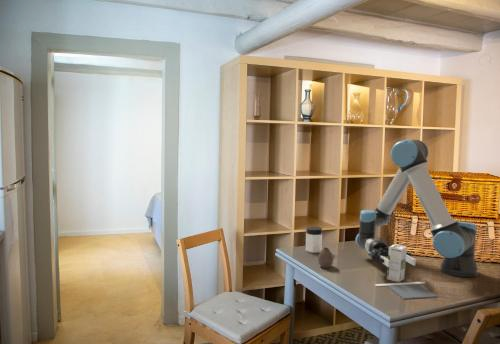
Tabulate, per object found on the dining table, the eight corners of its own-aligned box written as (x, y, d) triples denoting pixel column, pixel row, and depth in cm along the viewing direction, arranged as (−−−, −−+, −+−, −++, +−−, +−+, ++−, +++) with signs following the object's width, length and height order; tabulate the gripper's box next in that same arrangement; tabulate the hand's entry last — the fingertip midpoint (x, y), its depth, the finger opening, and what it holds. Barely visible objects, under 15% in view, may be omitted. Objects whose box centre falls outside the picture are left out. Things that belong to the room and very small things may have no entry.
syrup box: (391, 276, 178) (393, 243, 176) (405, 279, 174) (407, 246, 172) (386, 279, 174) (388, 246, 172) (400, 283, 170) (402, 249, 168)
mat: (418, 285, 168) (418, 284, 167) (437, 297, 156) (437, 296, 156) (387, 287, 165) (387, 286, 165) (403, 299, 153) (403, 298, 153)
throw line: (423, 282, 171) (423, 281, 171) (425, 283, 169) (425, 283, 169) (375, 285, 167) (375, 284, 167) (376, 286, 165) (376, 285, 165)
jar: (308, 253, 209) (309, 230, 208) (302, 248, 217) (303, 226, 216) (324, 252, 211) (325, 229, 210) (318, 247, 219) (319, 226, 218)
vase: (327, 263, 193) (328, 245, 192) (335, 268, 187) (336, 249, 186) (315, 264, 191) (315, 246, 190) (322, 269, 184) (323, 250, 184)
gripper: (398, 254, 193) (426, 270, 172) (352, 256, 189) (375, 273, 167) (399, 239, 192) (427, 253, 171) (353, 240, 188) (376, 255, 167)
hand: (401, 263), depth 169 cm, fingers open, 11 cm apart
